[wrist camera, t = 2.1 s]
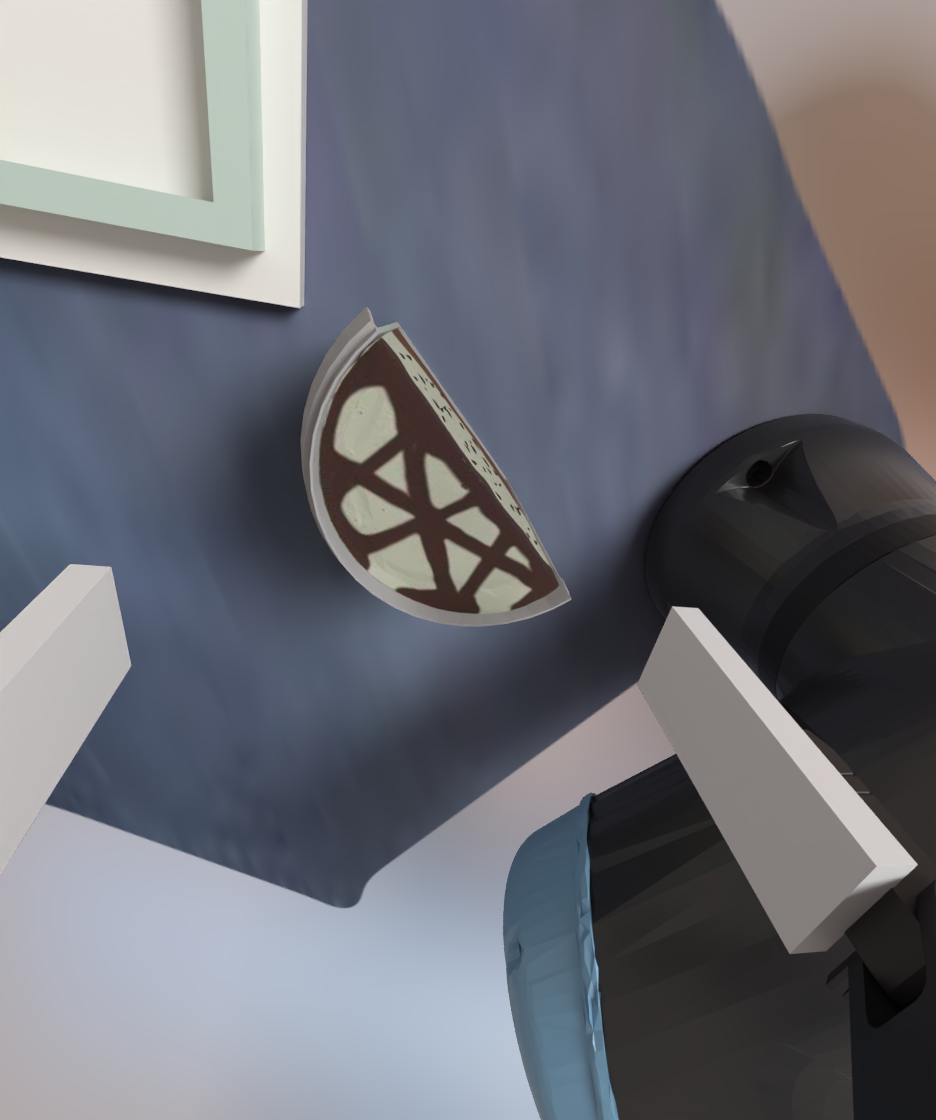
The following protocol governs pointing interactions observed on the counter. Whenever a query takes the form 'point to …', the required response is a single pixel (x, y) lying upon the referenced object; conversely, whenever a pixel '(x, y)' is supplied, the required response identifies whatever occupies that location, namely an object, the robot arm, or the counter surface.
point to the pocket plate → (157, 141)
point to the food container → (416, 489)
